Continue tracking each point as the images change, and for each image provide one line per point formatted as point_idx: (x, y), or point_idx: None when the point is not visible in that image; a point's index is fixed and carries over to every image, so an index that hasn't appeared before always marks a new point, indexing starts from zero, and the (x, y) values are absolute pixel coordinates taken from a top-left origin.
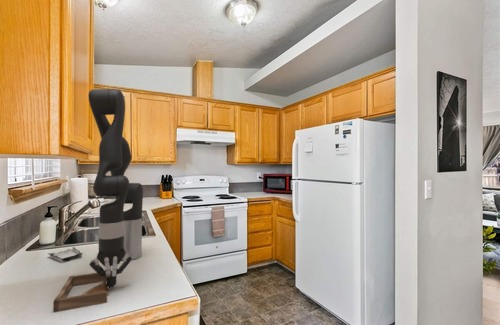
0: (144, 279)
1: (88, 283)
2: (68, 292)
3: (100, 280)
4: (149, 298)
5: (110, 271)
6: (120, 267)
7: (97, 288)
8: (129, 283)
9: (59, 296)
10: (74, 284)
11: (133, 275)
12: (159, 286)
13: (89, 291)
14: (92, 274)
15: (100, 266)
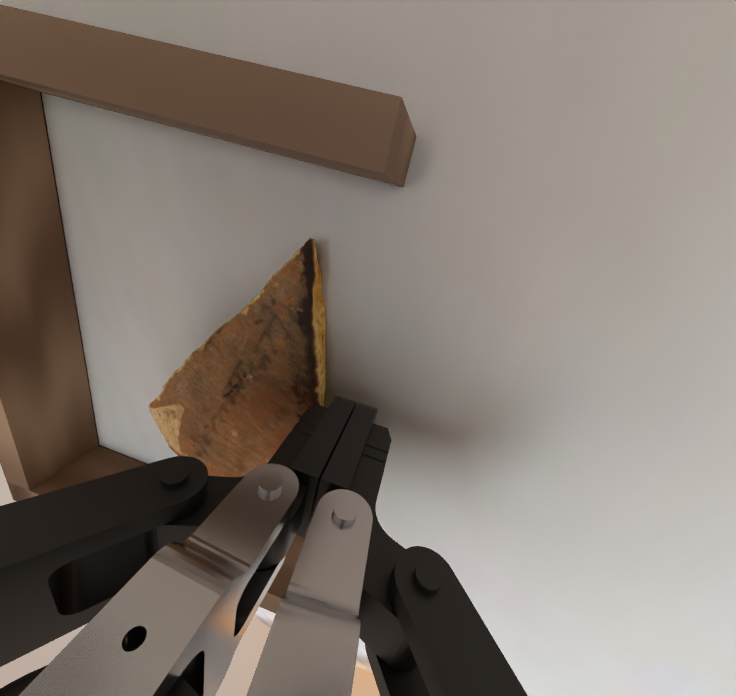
0: (716, 424)
1: (165, 124)
2: (57, 269)
3: (270, 151)
4: (533, 669)
5: (278, 524)
6: (415, 640)
7: (243, 391)
8: (528, 406)
9: (13, 461)
10: (35, 89)
11: (697, 202)
12: (707, 622)
13: (194, 399)
14: (103, 98)
15: (35, 567)
